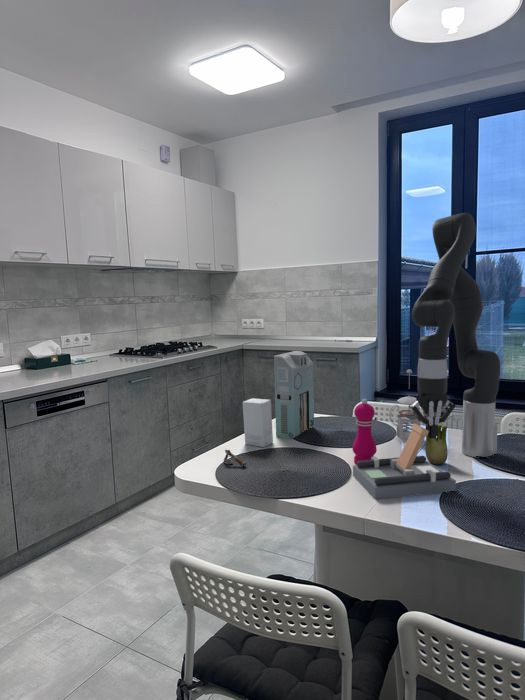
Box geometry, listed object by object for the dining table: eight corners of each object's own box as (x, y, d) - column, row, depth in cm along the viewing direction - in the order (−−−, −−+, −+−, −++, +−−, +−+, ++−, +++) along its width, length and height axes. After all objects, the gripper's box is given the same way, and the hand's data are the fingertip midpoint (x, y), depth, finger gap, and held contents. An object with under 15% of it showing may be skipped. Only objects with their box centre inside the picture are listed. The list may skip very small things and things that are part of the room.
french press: (427, 443, 160) (428, 371, 157) (393, 443, 160) (394, 372, 157) (418, 434, 170) (419, 367, 167) (386, 435, 170) (386, 367, 167)
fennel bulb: (423, 463, 141) (424, 424, 140) (430, 458, 145) (431, 421, 143) (442, 467, 137) (443, 428, 136) (449, 463, 141) (450, 424, 140)
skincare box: (273, 442, 164) (272, 399, 162) (263, 448, 159) (262, 403, 157) (253, 439, 169) (252, 397, 167) (243, 444, 163) (242, 401, 161)
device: (293, 439, 168) (292, 356, 165) (275, 436, 172) (273, 355, 169) (314, 427, 182) (313, 351, 178) (297, 425, 186) (295, 350, 183)
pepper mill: (377, 467, 138) (377, 401, 136) (352, 466, 140) (352, 401, 138) (376, 459, 145) (376, 396, 143) (352, 458, 147) (352, 396, 145)
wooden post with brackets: (223, 458, 147) (227, 447, 145) (242, 473, 143) (247, 461, 142) (220, 460, 145) (224, 448, 144) (239, 475, 142) (243, 463, 140)
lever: (398, 468, 129) (418, 425, 129) (408, 476, 123) (429, 431, 123) (393, 466, 129) (413, 422, 128) (403, 474, 123) (424, 428, 123)
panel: (424, 469, 136) (424, 452, 136) (455, 491, 120) (456, 472, 120) (352, 475, 133) (352, 458, 132) (375, 499, 117) (375, 479, 116)
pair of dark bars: (423, 460, 135) (423, 452, 135) (452, 480, 120) (453, 471, 120) (355, 465, 132) (355, 458, 132) (376, 487, 117) (376, 478, 117)
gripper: (447, 371, 129) (446, 432, 131) (402, 374, 127) (402, 435, 129) (463, 375, 122) (461, 440, 124) (416, 378, 120) (415, 443, 122)
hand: (431, 437), depth 126 cm, fingers closed
